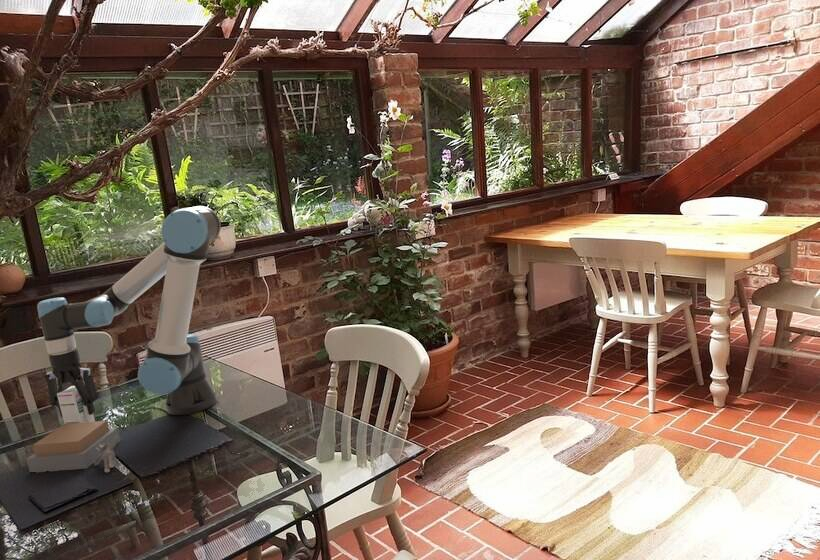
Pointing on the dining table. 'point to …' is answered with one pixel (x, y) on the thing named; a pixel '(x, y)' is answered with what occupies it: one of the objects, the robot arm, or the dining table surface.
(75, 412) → the syrup box
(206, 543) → the dining table surface
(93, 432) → the display podium
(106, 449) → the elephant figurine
